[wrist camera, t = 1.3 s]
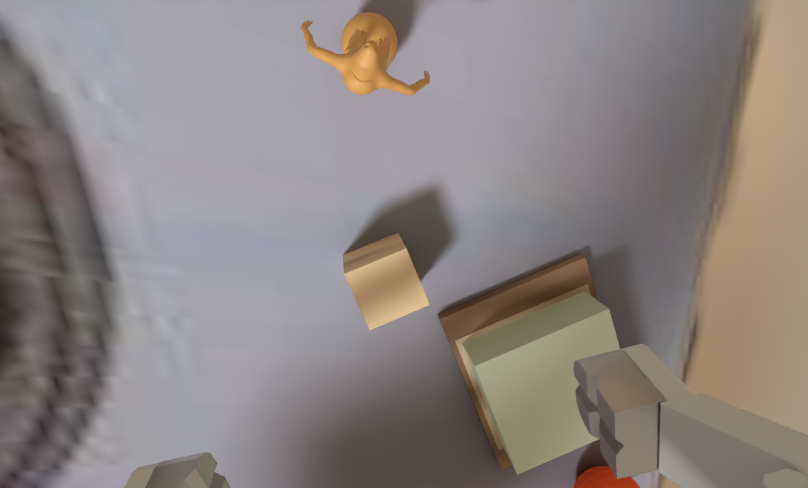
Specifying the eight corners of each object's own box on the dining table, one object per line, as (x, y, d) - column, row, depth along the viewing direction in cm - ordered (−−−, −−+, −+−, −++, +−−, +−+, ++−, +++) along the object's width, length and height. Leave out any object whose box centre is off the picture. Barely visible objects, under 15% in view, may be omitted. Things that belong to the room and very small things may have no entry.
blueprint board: (623, 408, 47) (630, 415, 46) (498, 463, 47) (501, 471, 46) (579, 254, 42) (586, 257, 41) (437, 314, 42) (440, 319, 41)
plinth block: (614, 395, 45) (639, 421, 42) (502, 444, 45) (517, 474, 41) (584, 291, 42) (609, 308, 38) (461, 343, 41) (474, 366, 38)
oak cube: (418, 282, 41) (429, 304, 36) (366, 304, 41) (370, 330, 36) (397, 231, 39) (406, 248, 34) (343, 254, 39) (344, 274, 34)
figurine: (427, 43, 35) (471, 9, 24) (399, 119, 37) (428, 121, 25) (323, -4, 34) (316, -65, 22) (297, 78, 35) (278, 60, 23)
